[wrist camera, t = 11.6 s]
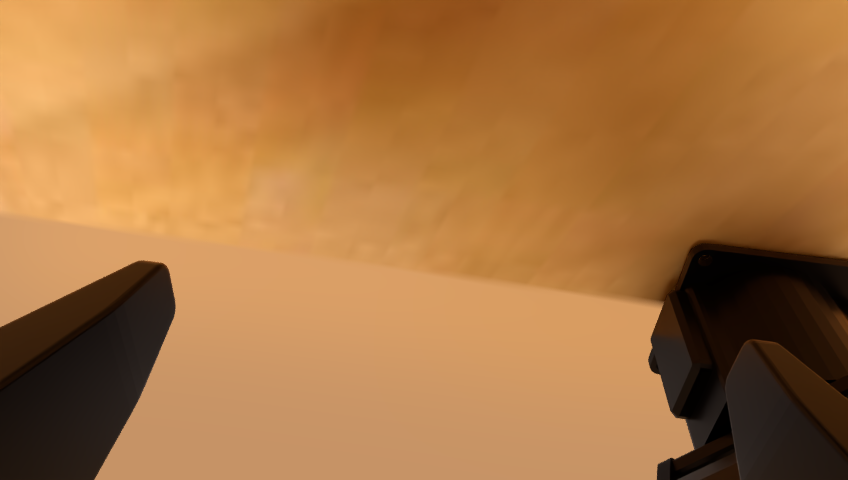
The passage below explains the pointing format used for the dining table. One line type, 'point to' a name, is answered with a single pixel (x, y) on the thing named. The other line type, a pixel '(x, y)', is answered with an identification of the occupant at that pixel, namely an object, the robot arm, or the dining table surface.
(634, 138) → the dining table surface
